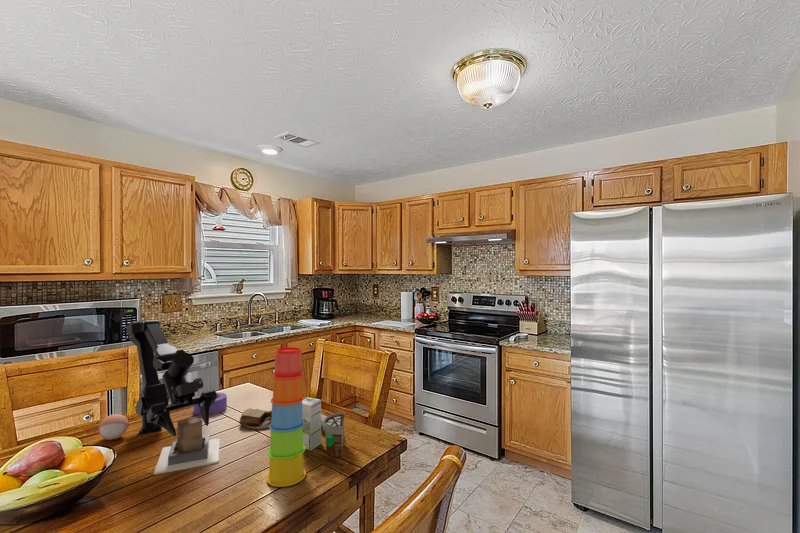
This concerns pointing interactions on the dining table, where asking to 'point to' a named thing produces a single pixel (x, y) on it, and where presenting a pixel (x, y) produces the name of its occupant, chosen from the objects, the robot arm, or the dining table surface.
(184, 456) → the collar
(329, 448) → the food container
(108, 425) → the toy ball
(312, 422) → the syrup box
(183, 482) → the dining table surface
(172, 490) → the dining table surface
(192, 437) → the walnut block
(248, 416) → the toy sandwich meal
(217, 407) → the tape roll
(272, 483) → the stacking cups
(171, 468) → the mat
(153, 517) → the dining table surface
